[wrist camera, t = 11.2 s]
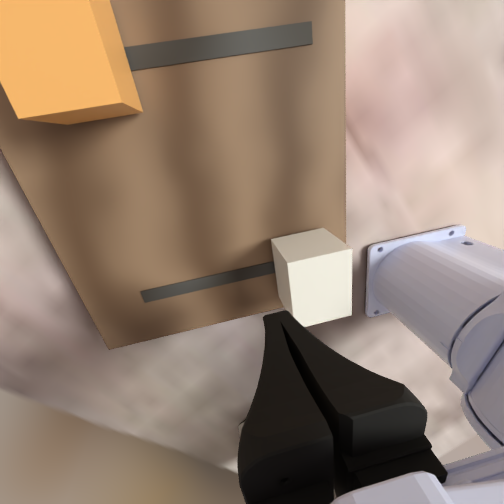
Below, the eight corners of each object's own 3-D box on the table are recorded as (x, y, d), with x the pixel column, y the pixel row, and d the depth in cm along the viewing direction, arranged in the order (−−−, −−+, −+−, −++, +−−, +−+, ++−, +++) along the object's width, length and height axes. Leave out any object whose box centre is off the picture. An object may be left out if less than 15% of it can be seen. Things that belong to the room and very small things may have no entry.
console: (327, -56, 14) (346, -87, 12) (335, 283, 24) (346, 296, 22) (-58, -14, 12) (-104, -42, 11) (118, 336, 22) (110, 354, 20)
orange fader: (106, -8, 12) (64, -74, 8) (143, 112, 14) (122, 102, 10) (16, 2, 11) (-70, -61, 8) (67, 124, 14) (18, 118, 10)
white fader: (323, 227, 19) (352, 248, 15) (325, 284, 21) (351, 315, 17) (270, 239, 18) (287, 263, 15) (278, 296, 20) (294, 329, 17)
